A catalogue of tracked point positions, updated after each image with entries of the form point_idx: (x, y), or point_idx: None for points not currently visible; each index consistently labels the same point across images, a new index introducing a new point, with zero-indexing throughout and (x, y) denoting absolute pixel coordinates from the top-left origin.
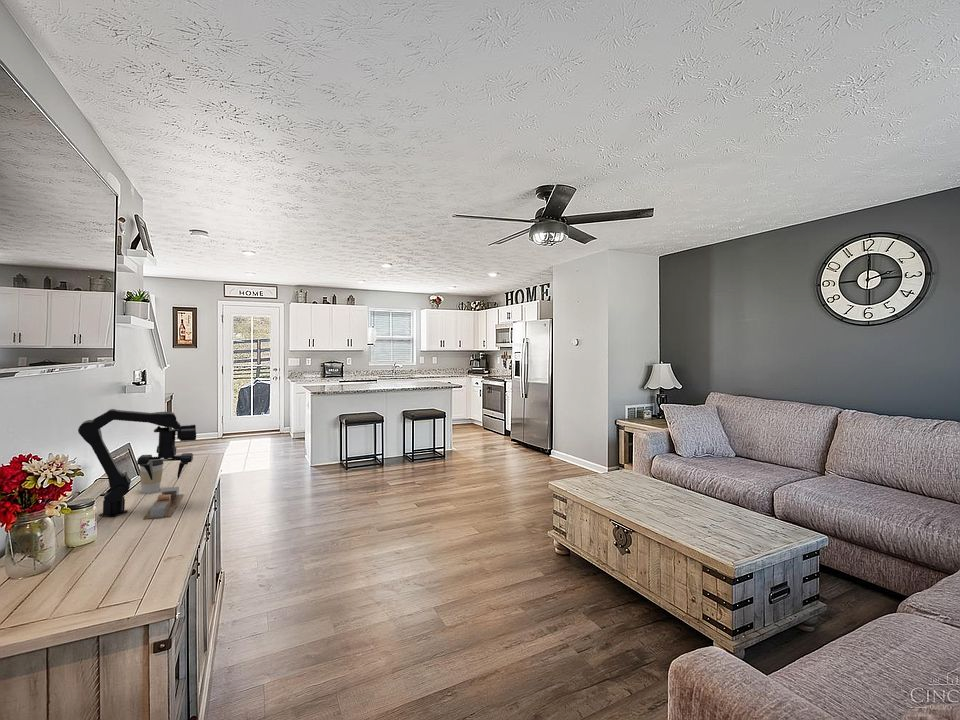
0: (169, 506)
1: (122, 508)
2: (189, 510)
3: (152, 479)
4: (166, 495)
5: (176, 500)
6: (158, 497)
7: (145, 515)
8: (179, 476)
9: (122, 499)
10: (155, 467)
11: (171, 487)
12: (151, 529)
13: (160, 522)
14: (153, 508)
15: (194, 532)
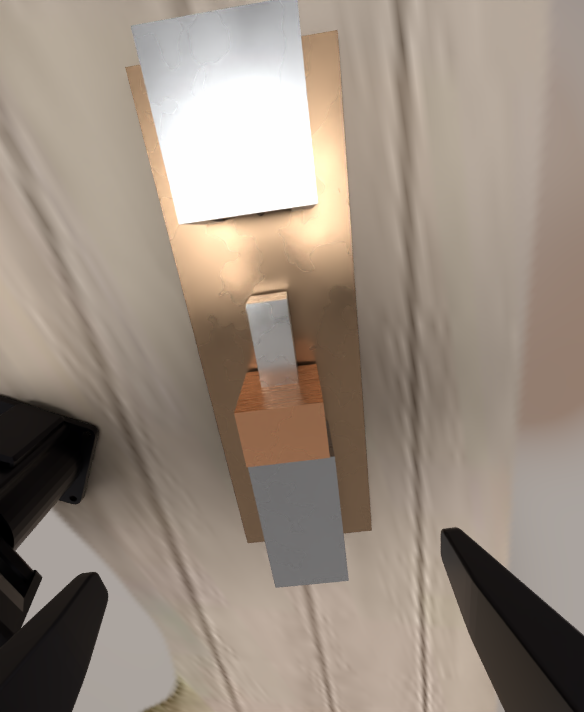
0: None
1: (65, 463)
2: (448, 443)
3: (102, 590)
4: (297, 430)
5: (325, 251)
6: (251, 466)
7: (240, 512)
8: (477, 554)
9: (19, 519)
10: None
11: (210, 29)
12: (332, 628)
13: None
14: (289, 582)
15: None
